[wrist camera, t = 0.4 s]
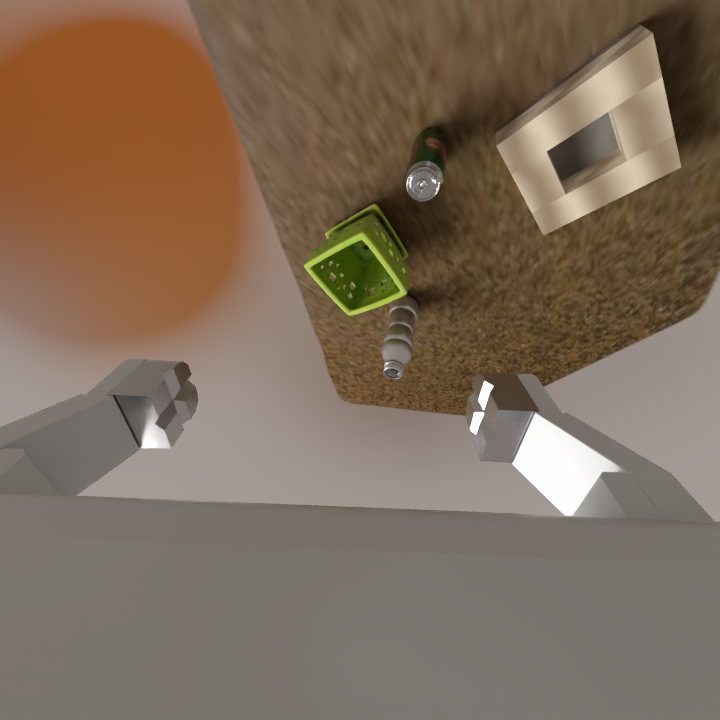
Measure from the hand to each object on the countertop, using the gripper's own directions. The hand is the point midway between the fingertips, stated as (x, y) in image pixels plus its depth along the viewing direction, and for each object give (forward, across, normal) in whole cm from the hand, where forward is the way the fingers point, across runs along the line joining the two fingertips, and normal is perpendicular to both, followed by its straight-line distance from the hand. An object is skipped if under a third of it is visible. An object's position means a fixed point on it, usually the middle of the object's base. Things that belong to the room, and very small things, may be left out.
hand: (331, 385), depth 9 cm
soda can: (+52, -10, -6) cm, 53 cm away
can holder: (+47, -30, -7) cm, 56 cm away
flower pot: (+59, -2, +10) cm, 60 cm away
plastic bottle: (+62, -10, +24) cm, 68 cm away
